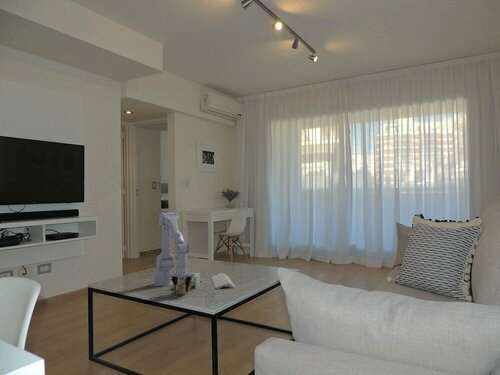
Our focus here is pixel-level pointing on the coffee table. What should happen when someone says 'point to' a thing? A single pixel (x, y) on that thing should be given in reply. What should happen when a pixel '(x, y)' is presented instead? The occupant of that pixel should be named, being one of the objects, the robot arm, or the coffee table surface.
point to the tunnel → (196, 280)
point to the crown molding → (221, 281)
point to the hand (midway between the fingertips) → (181, 291)
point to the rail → (182, 294)
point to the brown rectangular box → (182, 287)
